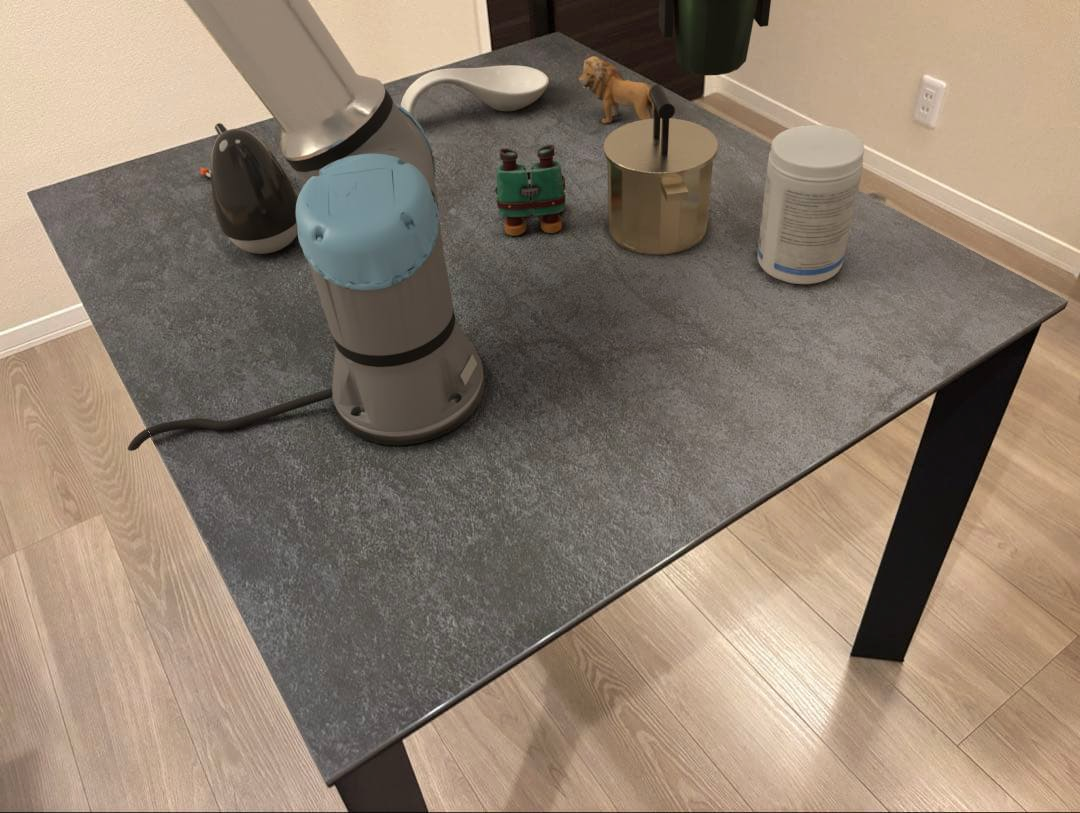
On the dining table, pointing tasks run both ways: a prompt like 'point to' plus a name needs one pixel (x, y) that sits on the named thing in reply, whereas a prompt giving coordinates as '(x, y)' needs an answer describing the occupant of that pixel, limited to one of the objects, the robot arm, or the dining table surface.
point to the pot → (658, 210)
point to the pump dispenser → (251, 193)
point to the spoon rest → (485, 85)
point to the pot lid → (660, 143)
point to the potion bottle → (713, 34)
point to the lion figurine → (615, 89)
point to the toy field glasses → (530, 191)
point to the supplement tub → (809, 202)
